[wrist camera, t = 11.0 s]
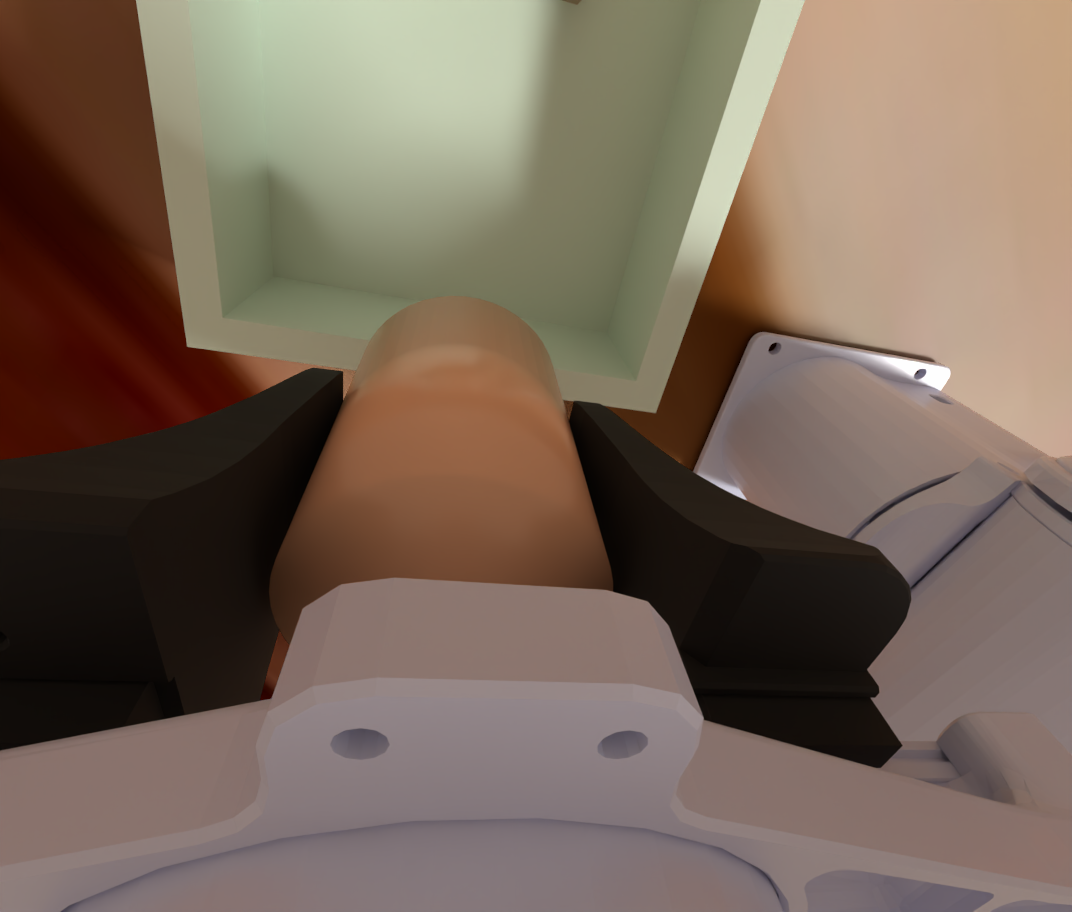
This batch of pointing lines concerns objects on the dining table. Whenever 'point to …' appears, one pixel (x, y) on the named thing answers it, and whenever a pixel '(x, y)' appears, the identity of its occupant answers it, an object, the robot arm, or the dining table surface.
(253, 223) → the tote
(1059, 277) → the dining table surface
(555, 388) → the terracotta capsule
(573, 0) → the birch cube
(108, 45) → the dining table surface
